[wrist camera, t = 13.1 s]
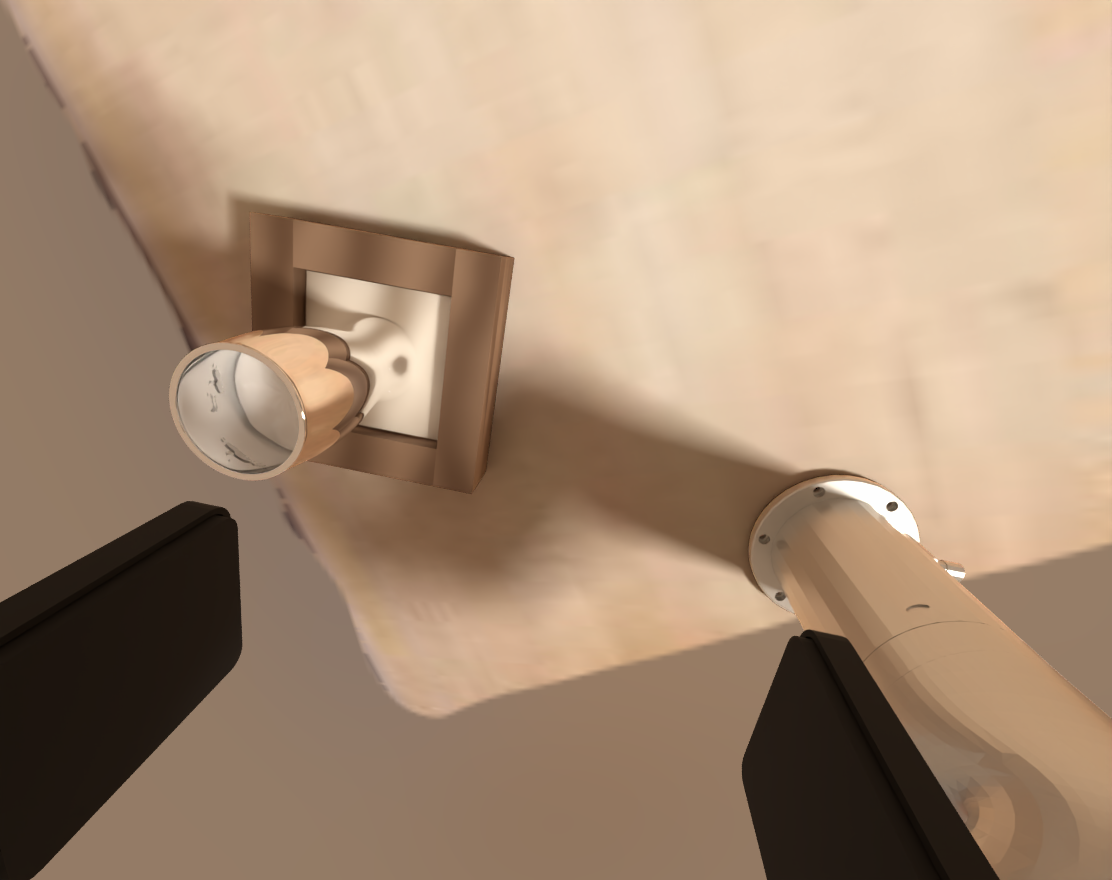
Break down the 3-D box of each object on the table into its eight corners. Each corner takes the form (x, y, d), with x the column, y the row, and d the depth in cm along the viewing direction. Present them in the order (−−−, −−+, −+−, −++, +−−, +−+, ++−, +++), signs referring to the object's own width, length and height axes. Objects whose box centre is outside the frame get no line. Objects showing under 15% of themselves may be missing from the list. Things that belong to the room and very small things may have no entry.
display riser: (514, 257, 38) (501, 256, 33) (485, 471, 43) (471, 493, 39) (289, 217, 38) (249, 211, 34) (290, 432, 44) (255, 450, 40)
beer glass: (346, 411, 39) (196, 492, 25) (319, 317, 37) (139, 349, 23) (433, 399, 38) (327, 477, 24) (411, 303, 36) (281, 326, 22)
